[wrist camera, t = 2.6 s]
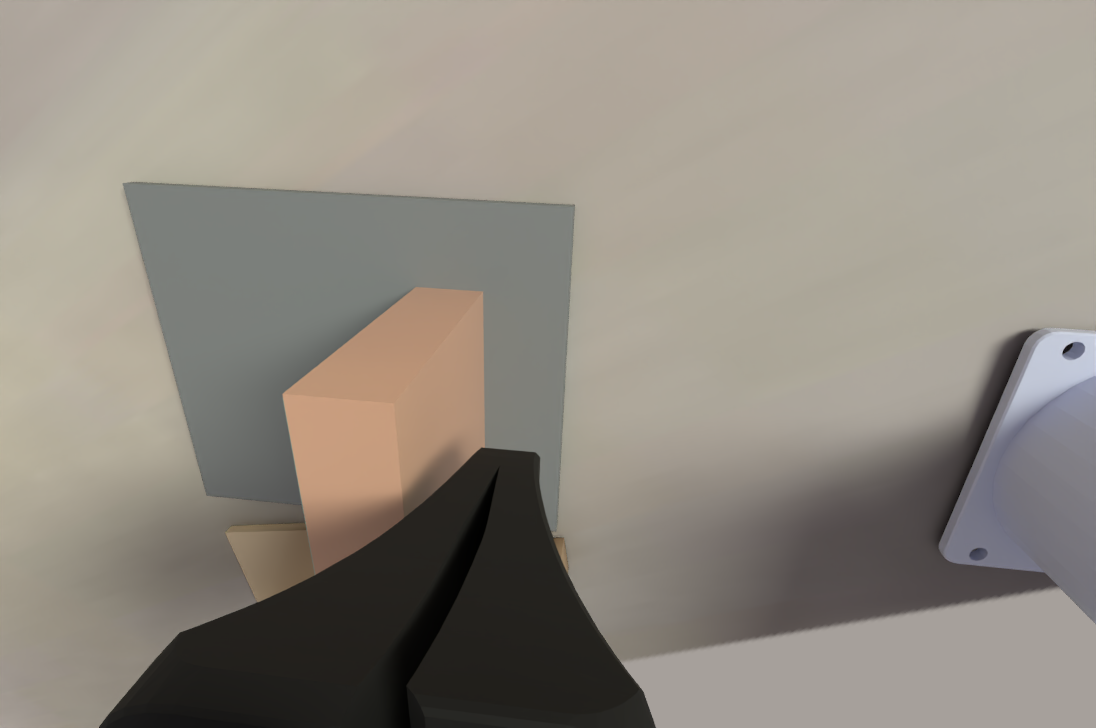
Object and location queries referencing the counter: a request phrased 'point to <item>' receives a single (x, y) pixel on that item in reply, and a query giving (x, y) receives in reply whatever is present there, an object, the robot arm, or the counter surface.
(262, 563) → the wooden cleaver
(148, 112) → the counter surface
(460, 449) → the tile
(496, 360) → the mat
